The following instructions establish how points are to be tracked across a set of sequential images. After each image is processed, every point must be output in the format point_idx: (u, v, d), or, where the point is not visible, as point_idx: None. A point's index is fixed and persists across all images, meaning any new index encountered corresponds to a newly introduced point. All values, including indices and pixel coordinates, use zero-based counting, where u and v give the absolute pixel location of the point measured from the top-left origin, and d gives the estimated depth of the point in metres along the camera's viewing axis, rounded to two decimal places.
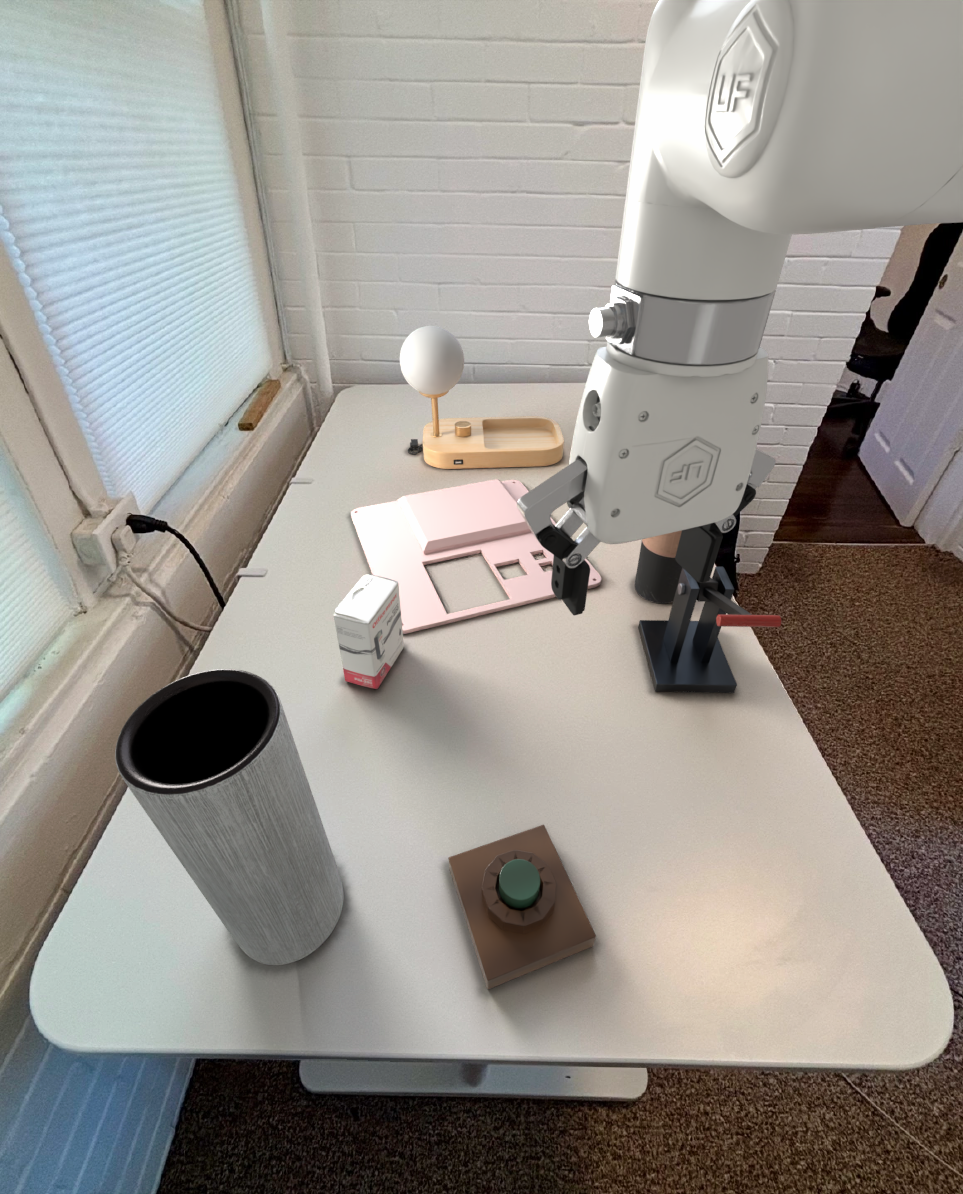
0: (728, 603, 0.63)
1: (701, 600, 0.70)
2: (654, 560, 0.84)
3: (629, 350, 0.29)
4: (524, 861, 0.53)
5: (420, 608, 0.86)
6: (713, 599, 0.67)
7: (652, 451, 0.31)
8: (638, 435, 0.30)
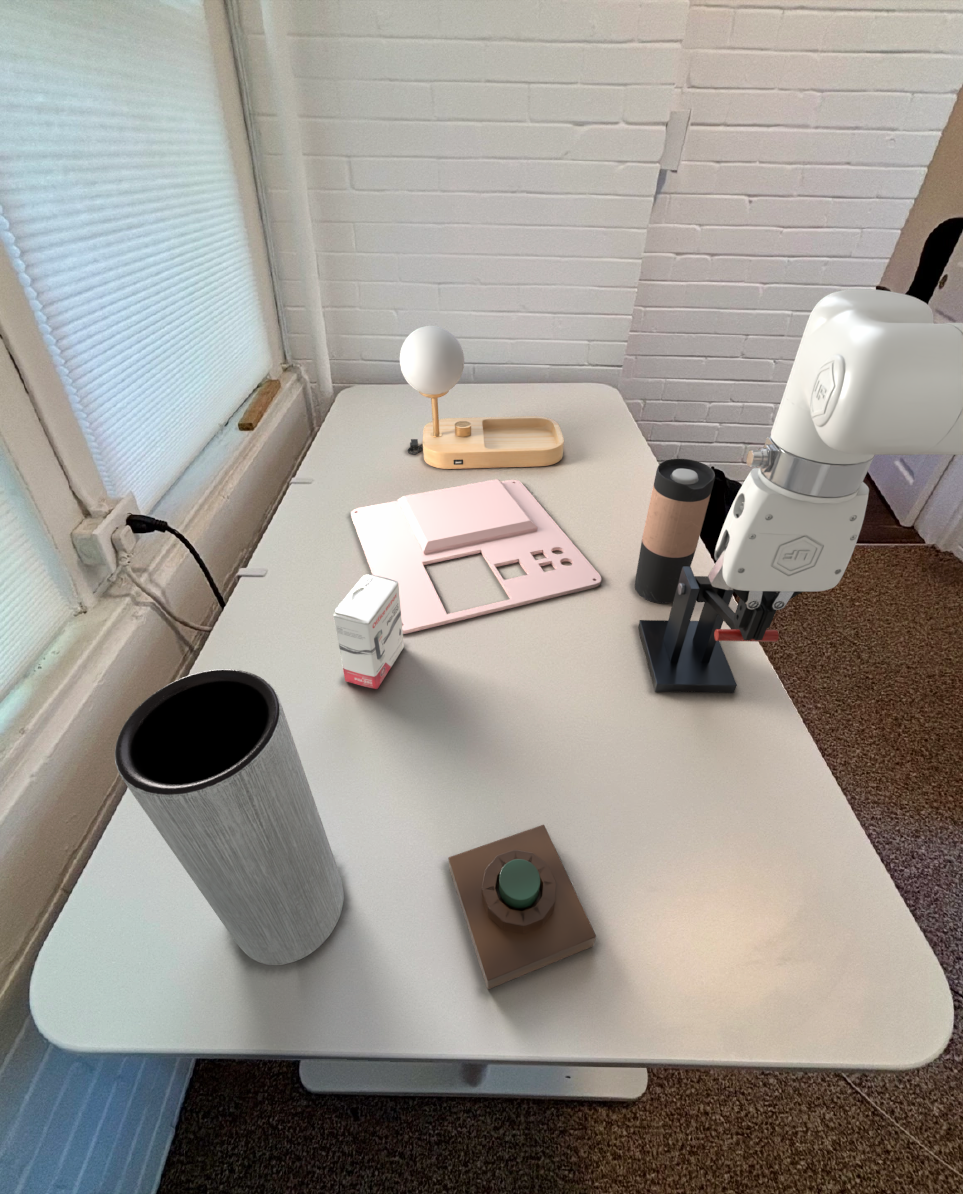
0: (727, 612, 0.64)
1: (700, 601, 0.71)
2: (654, 560, 0.84)
3: (768, 477, 0.47)
4: (524, 861, 0.53)
5: (420, 608, 0.86)
6: (712, 604, 0.67)
7: (771, 538, 0.49)
8: (763, 527, 0.48)
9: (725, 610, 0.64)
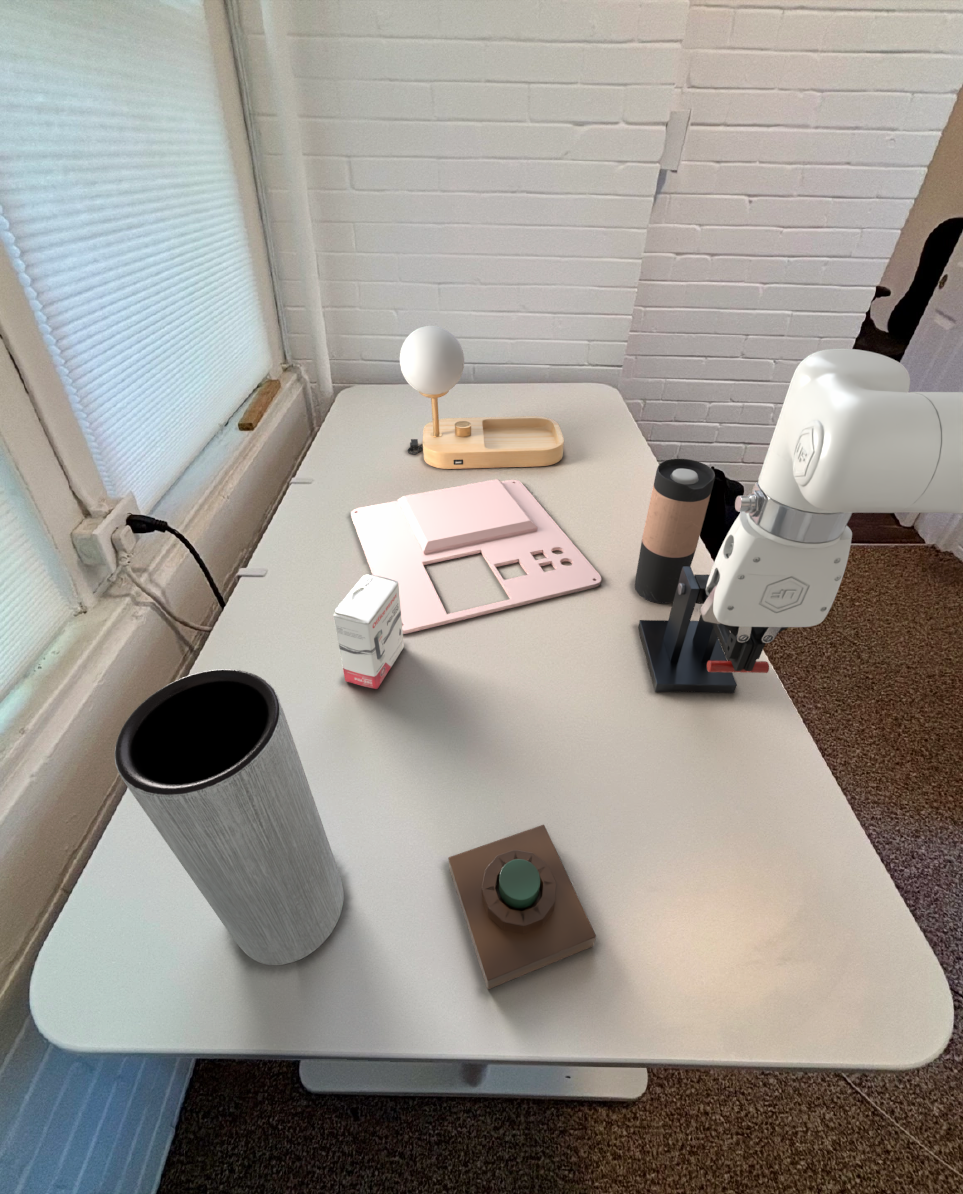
0: (723, 632, 0.65)
1: (699, 603, 0.71)
2: (654, 560, 0.84)
3: (755, 521, 0.49)
4: (524, 861, 0.53)
5: (420, 608, 0.86)
6: None
7: (759, 579, 0.51)
8: (751, 568, 0.50)
9: (721, 629, 0.65)
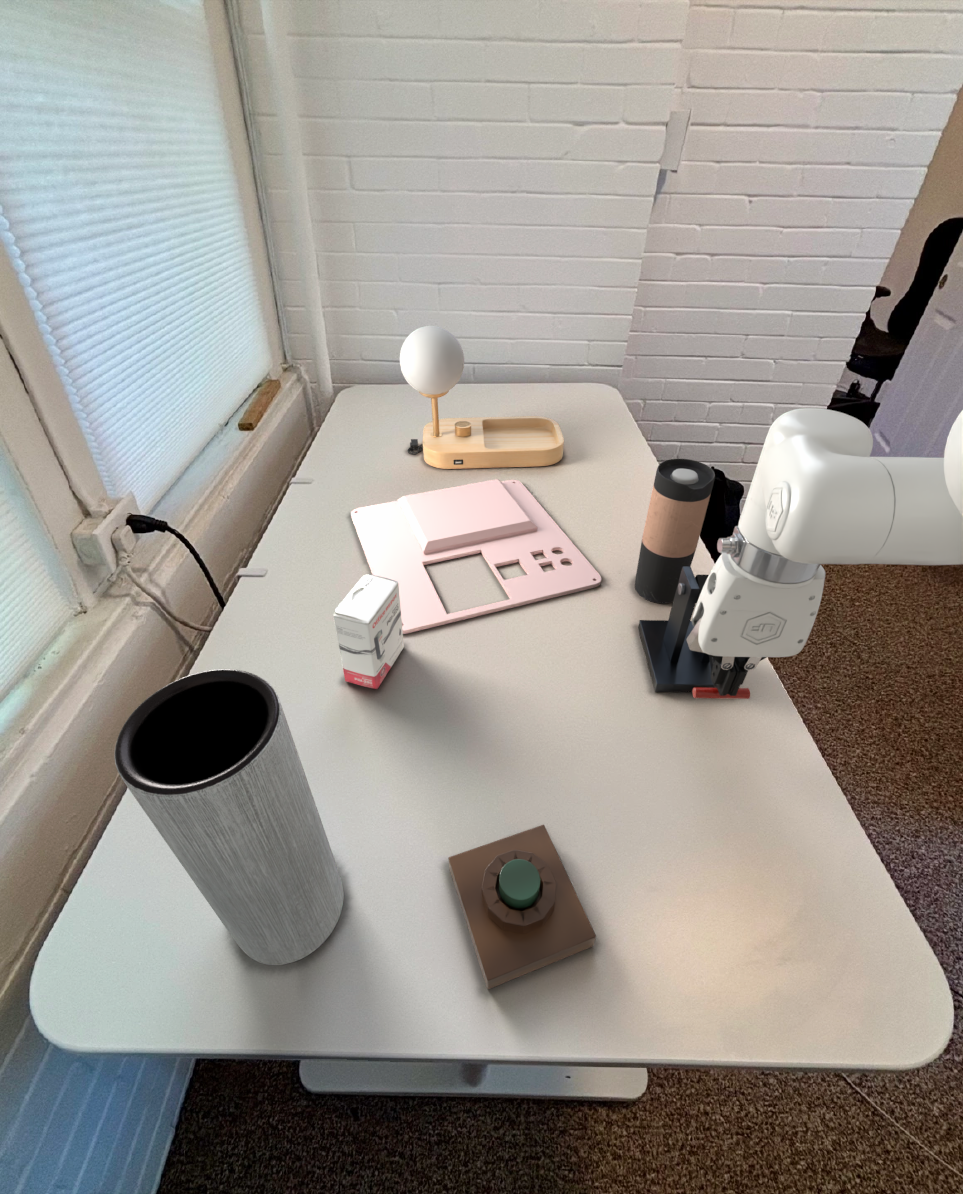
0: None
1: None
2: (654, 560, 0.84)
3: (736, 562, 0.53)
4: (524, 861, 0.53)
5: (420, 608, 0.86)
6: None
7: (740, 614, 0.55)
8: (732, 605, 0.54)
9: None
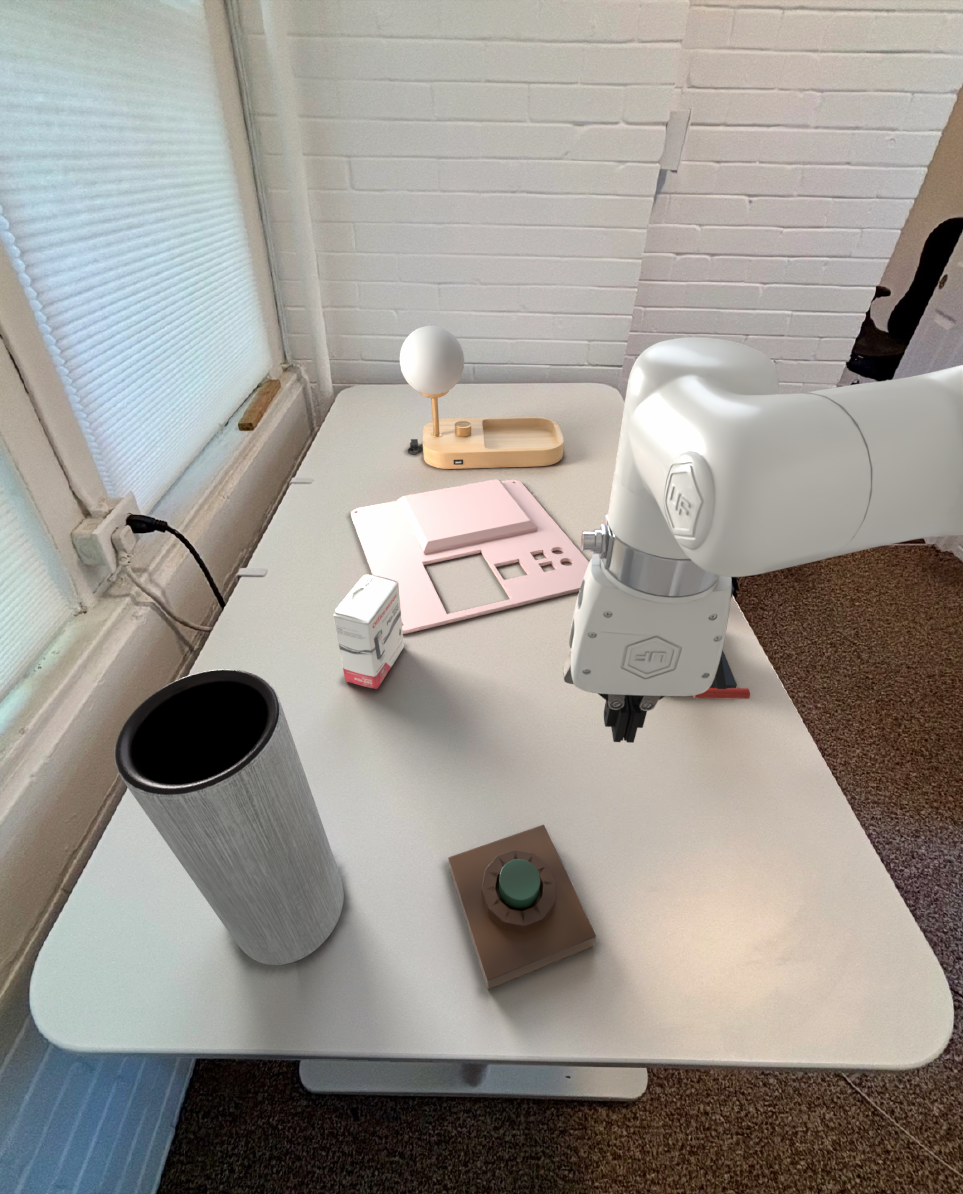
0: None
1: None
2: None
3: (604, 565, 0.38)
4: (524, 861, 0.53)
5: (420, 608, 0.86)
6: None
7: (616, 638, 0.39)
8: (603, 625, 0.39)
9: None
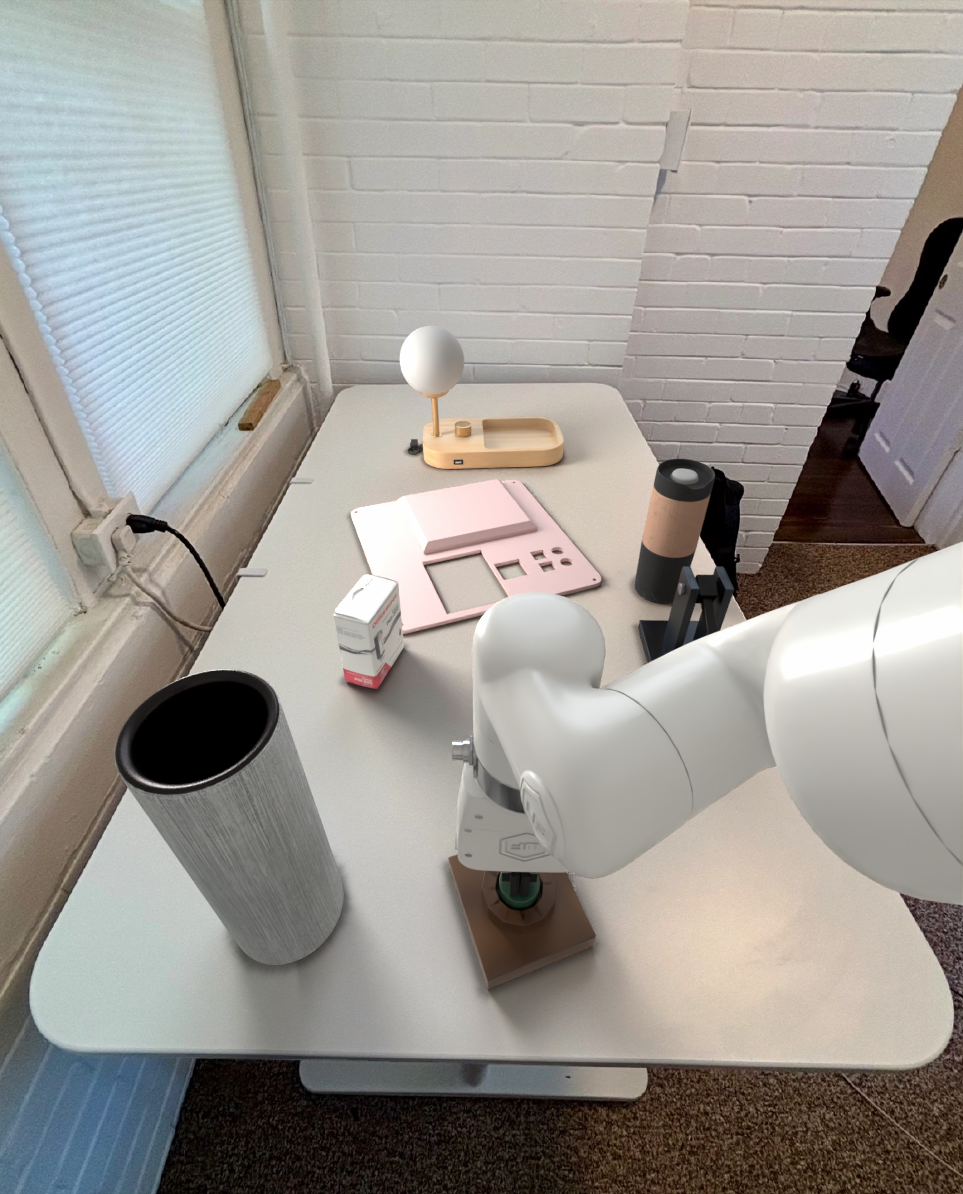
0: None
1: (697, 603, 0.72)
2: (654, 560, 0.84)
3: None
4: None
5: (420, 608, 0.86)
6: (705, 623, 0.70)
7: (489, 833, 0.41)
8: (476, 824, 0.41)
9: None
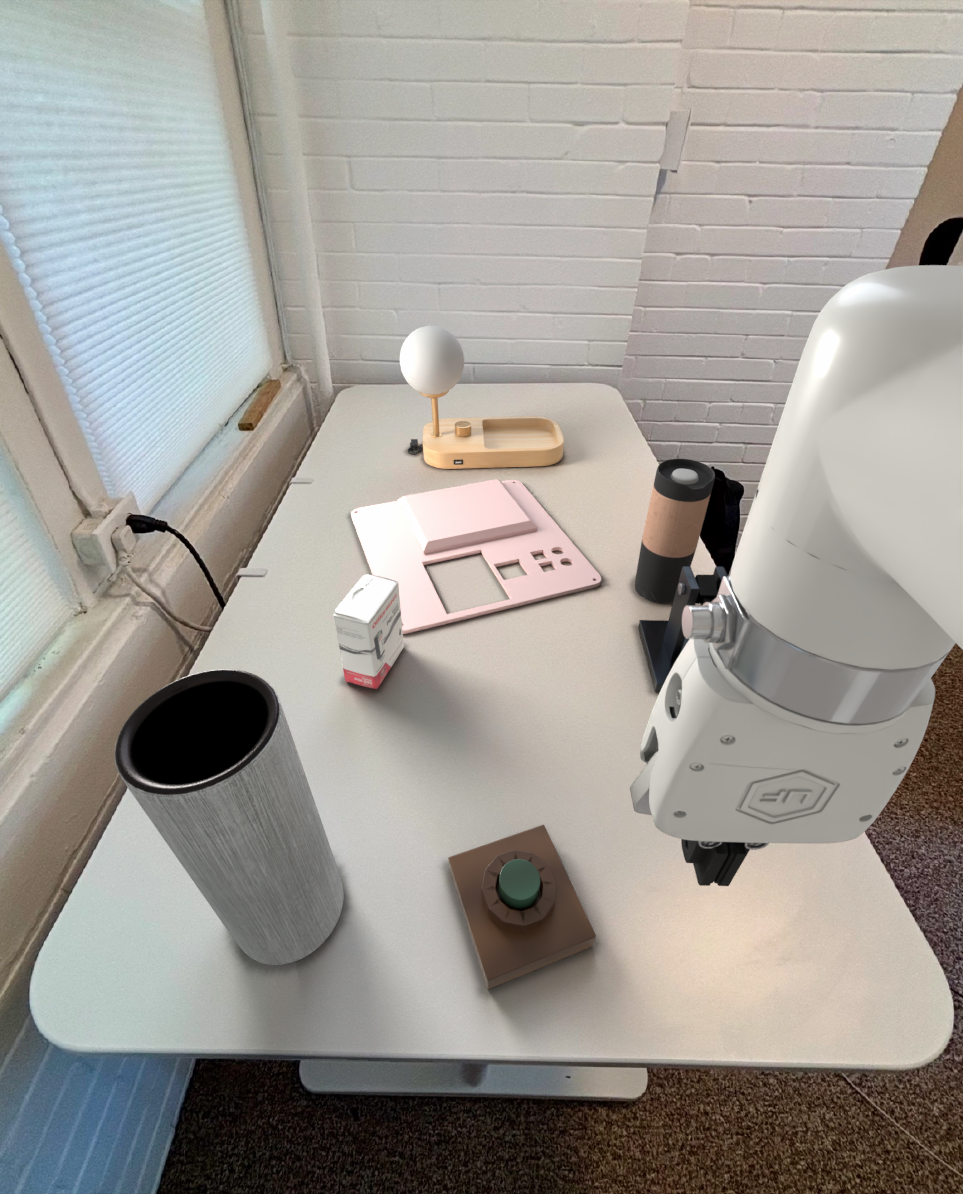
0: None
1: (697, 603, 0.72)
2: (654, 560, 0.84)
3: (725, 662, 0.23)
4: (524, 861, 0.53)
5: (420, 608, 0.86)
6: None
7: (736, 772, 0.24)
8: (718, 755, 0.24)
9: None
